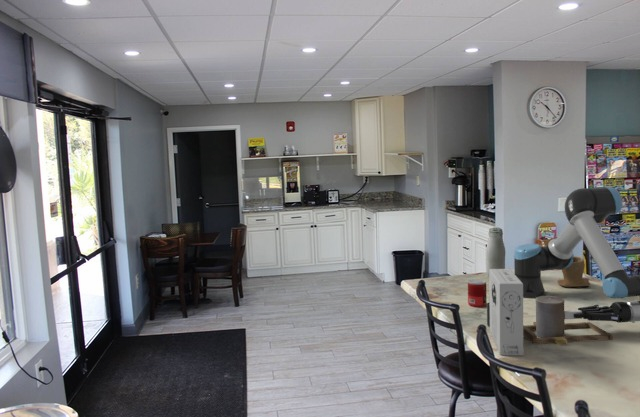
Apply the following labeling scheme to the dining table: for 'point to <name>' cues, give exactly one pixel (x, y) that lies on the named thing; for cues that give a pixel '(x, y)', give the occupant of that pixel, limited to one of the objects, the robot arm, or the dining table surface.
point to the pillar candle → (549, 316)
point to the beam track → (563, 340)
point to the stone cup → (574, 274)
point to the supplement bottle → (488, 313)
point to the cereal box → (506, 311)
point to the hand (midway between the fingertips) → (563, 315)
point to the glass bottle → (495, 250)
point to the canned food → (477, 293)
